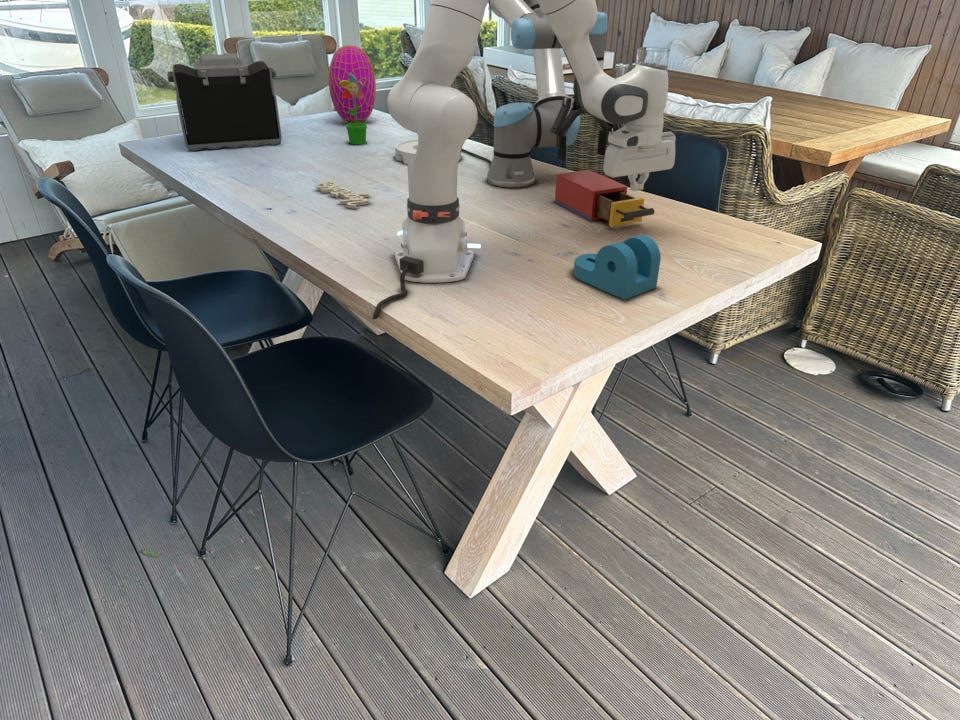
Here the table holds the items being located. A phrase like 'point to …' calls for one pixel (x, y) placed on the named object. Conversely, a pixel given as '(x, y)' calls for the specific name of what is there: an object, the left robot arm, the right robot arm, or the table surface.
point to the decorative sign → (344, 194)
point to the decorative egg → (361, 68)
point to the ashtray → (407, 150)
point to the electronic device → (226, 103)
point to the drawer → (621, 208)
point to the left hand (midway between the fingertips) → (636, 189)
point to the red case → (583, 191)
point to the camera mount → (621, 267)
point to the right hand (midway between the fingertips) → (581, 157)
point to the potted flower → (354, 129)
